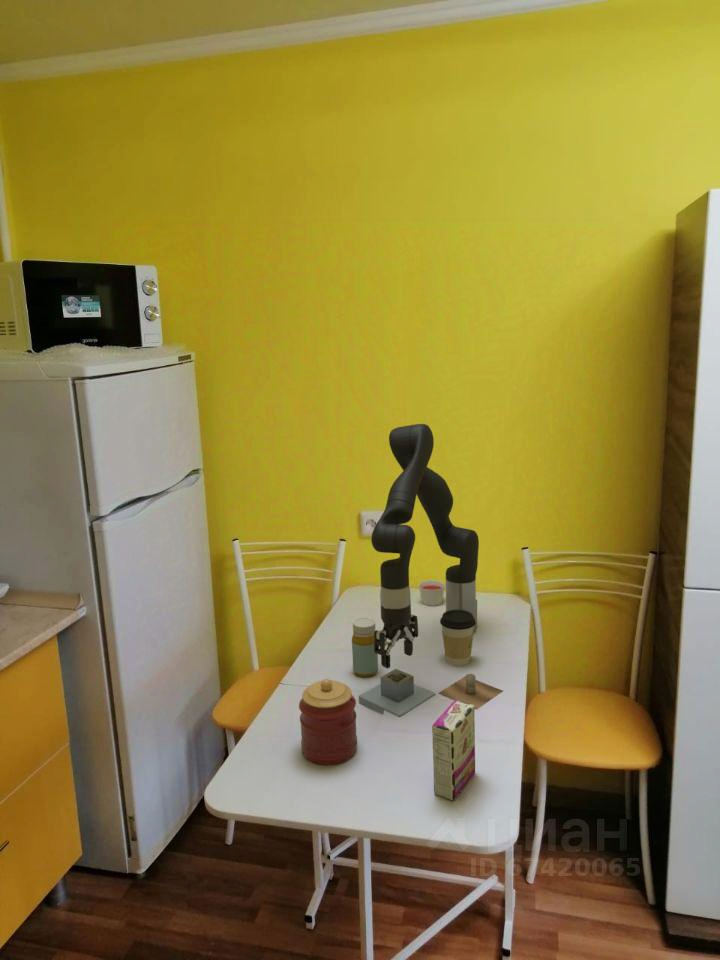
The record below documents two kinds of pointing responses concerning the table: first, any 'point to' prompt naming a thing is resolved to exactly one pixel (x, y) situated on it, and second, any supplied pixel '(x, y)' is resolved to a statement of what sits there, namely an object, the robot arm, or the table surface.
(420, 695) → the square plate
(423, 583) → the candle
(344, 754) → the canister
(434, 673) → the table surface
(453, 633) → the coffee cup
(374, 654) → the bottle
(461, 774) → the candy bar box
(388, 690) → the recessed metal cube
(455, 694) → the stand
